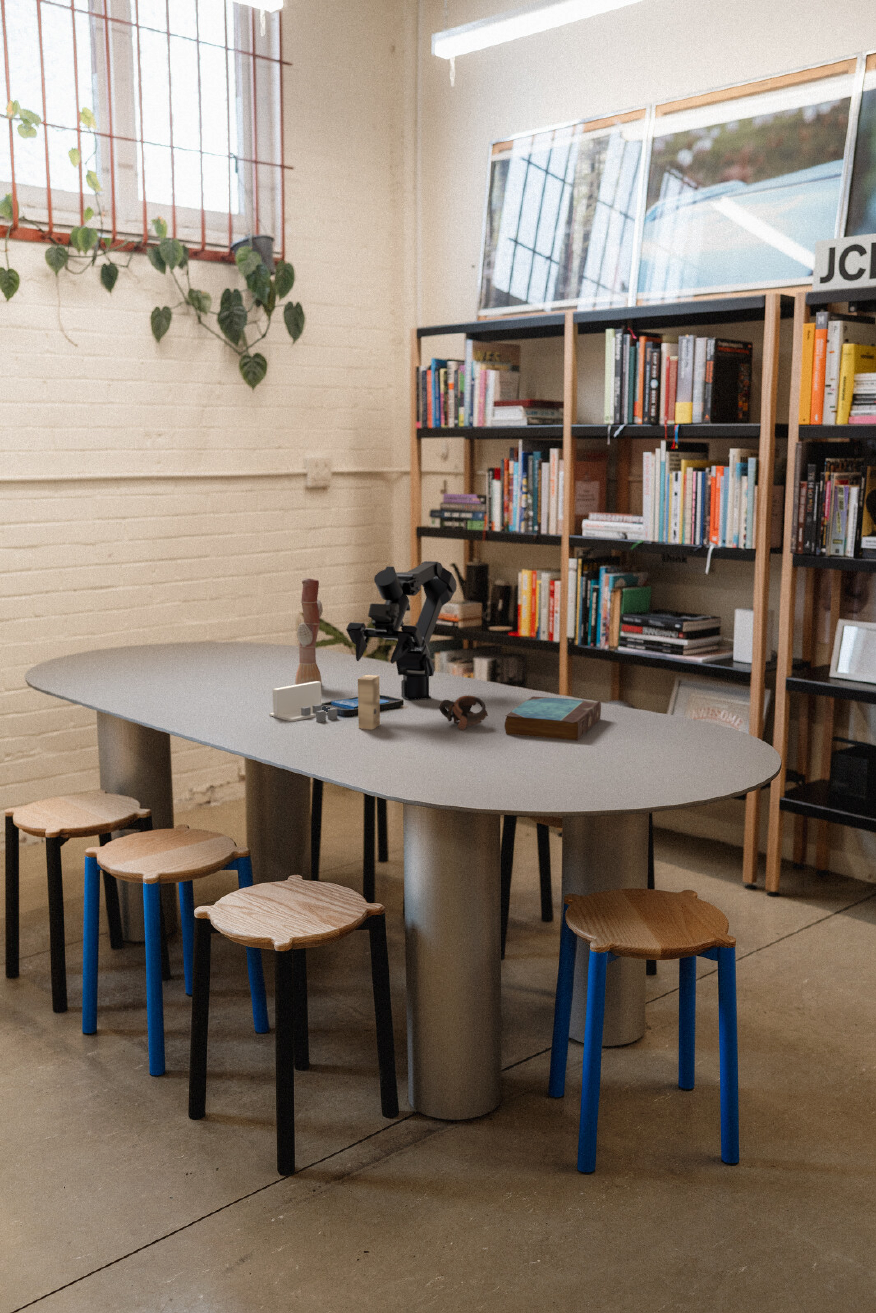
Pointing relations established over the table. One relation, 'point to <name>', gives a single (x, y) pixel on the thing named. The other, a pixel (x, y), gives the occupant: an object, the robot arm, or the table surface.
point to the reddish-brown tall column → (309, 633)
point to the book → (553, 718)
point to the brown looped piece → (463, 711)
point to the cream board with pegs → (300, 703)
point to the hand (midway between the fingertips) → (374, 661)
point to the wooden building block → (368, 702)
